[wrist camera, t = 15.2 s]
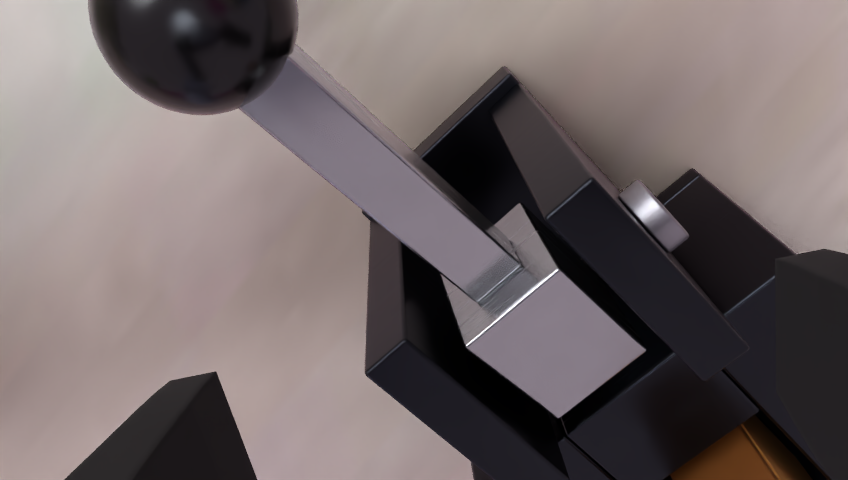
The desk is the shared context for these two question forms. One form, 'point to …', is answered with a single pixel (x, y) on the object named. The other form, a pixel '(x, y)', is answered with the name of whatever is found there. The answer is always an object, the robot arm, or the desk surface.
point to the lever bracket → (577, 228)
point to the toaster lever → (382, 186)
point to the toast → (744, 457)
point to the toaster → (670, 377)
